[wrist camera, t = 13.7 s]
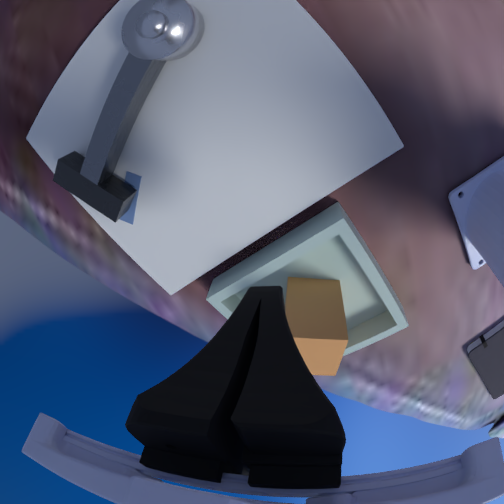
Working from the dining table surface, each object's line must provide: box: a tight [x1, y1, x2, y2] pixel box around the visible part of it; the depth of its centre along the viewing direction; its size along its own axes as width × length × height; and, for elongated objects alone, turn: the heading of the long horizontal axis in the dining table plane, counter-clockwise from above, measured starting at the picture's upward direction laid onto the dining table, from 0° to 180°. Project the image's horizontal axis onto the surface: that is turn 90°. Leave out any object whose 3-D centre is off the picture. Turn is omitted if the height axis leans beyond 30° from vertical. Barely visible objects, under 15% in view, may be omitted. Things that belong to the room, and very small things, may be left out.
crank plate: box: [26, 0, 404, 295], centre depth 17 cm, size 21×19×1 cm
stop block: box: [285, 277, 348, 376], centre depth 21 cm, size 4×4×6 cm
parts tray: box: [206, 202, 409, 356], centre depth 23 cm, size 12×12×2 cm
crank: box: [53, 0, 205, 223], centre depth 14 cm, size 14×6×3 cm, turn 147°
